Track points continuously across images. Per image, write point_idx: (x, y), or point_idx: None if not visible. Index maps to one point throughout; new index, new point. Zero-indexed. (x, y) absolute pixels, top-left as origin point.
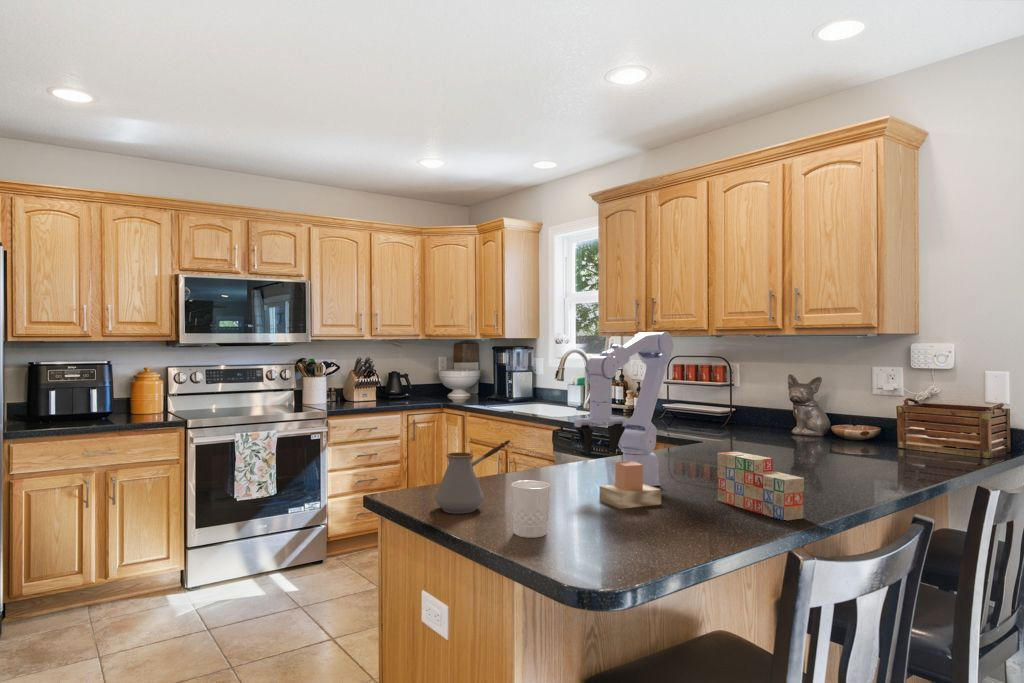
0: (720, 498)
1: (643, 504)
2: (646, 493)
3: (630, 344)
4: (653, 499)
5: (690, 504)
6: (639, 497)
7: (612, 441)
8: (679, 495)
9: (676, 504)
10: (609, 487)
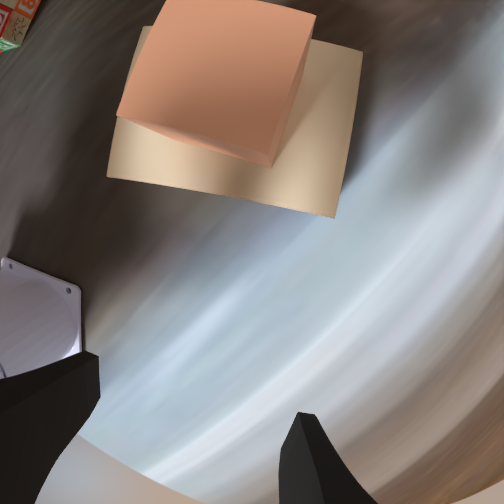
0: (19, 35)
1: None
2: None
3: None
4: None
5: (98, 20)
6: None
7: (53, 424)
8: (34, 126)
9: (128, 30)
10: (317, 163)
